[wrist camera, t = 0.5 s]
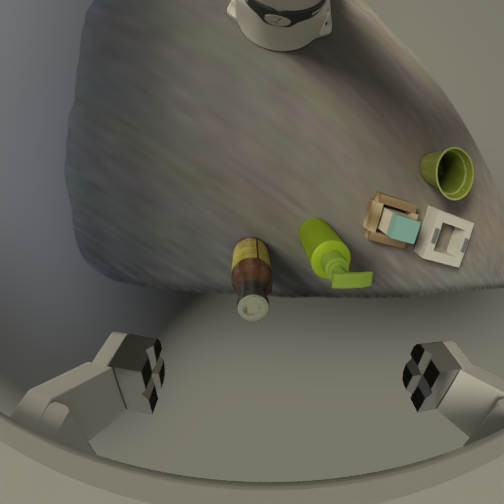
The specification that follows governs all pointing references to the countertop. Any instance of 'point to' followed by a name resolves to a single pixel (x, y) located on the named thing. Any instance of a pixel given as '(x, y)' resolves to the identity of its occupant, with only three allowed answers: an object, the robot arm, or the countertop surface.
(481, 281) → the countertop surface
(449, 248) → the port
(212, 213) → the countertop surface
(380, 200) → the brown wooden square frame
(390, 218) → the plug
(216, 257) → the countertop surface
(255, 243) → the sauce bottle
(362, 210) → the countertop surface
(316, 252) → the soap dispenser
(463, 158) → the plant pot
